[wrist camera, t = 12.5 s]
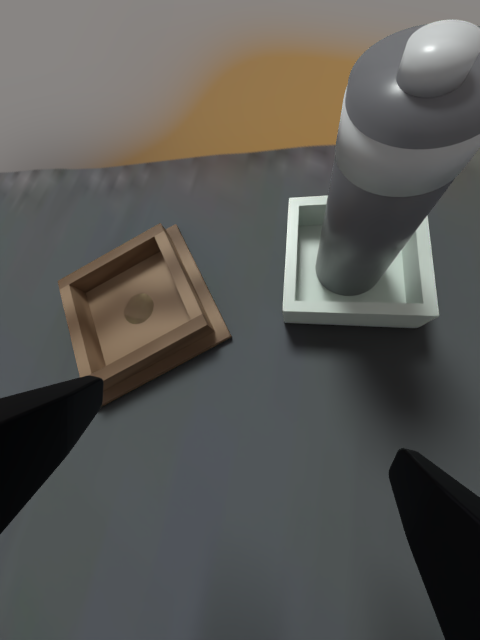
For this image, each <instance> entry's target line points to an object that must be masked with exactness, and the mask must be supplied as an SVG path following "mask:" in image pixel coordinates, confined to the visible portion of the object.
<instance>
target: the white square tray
mask: <svg viewBox="0 0 480 640" xmlns="http://www.w3.org/2000/svg"><path fill="white" fill-rule="evenodd" d="M327 198H328V196H314V197H298V198H289V209H288V226H287V244H286V261H285V278H284V295H283V318H284V323H300V324H324V325H348V326H372V327H396V328H419V327H421V326H422V325H424V324H426V323H428V322H429V321H431V320H433V319H435V318H436V317H438V316H439V311H438V302H437V294H436V285H435V276H434V268H433V259H432V251H431V242H430V234H429V225H428V217H427V216H426V218H425V219H424V220H423V222H422V223H421V224H420V226H419V227H418V228H417V230H416V231H415V232H414V234H413V235H412V236H411V238H410V239H409V241H408V242H407V243H406V245H405V246H404V247H403V249H402V250H401V251H400V253H399V254H398V255H397V257H396V258H395V259H394V261H393V262H392V263H391V265H390V266H389V267H388V269H387V270H386V271H385V273H384V274H383V275H382V277H381V278H380V279H379V281H378V282H377V283H376V285H375V286H374V287H373V288H371V289H370V290H369V291H367V292H365V293H362V294H359V295H354V296H343V295H339V294H336V293H333V292H331V291H329V290H328V289H326V288H325V287H324V286H323V285H322V284H321V282H320V281H319V279H318V277H317V274H316V270H315V266H316V259H317V254H318V248H319V243H320V237H321V231H322V226H323V220H324V215H325V209H326V203H327Z"/></svg>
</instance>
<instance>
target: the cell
mask: <svg viewBox="0 0 480 640" xmlns="http://www.w3.org/2000/svg"><path fill="white" fill-rule="evenodd" d="M479 148H480V26H476V25H474V24H472V23H470V22H467V21H462V20H442V21H437V22H433V23H430V24H426V25H420V26H415V27H411V28H408V29H405V30H402V31H399V32H396V33H394V34H392V35H390V36H387V37H386V38H384V39H382V40H380V41H379V42H377V43H376V44H374V45H373V46H371V47H370V48H369V49H368V50H367V51H366V52H364V53H363V54H362V56H361V57H360V58H359V59H358V60H357V62H356V63H355V65H354V66H353V68H352V70H351V73H350V76H349V80H348V86H347V88H346V91H345V95H344V100H343V106H342V112H341V118H340V123H339V129H338V135H337V141H336V147H335V159H334V164H333V170H332V175H331V181H330V187H329V192H328V198H327V203H326V209H325V215H324V220H323V226H322V231H321V237H320V243H319V248H318V254H317V259H316V266H315V270H316V274H317V277H318V279H319V281H320V282H321V284H322V285H323V286H324V287H325V288H326V289H328V290H329V291H331V292H333V293H336V294H339V295H343V296H354V295H359V294H362V293H365V292H367V291H369V290H370V289H371V288H373V287H374V286H375V285H376V283H377V282H378V281H379V279H380V278H381V277H382V275H383V274H384V273H385V271H386V270H387V269H388V267H389V266H390V265H391V263H392V262H393V261H394V259H395V258H396V257H397V255H398V254H399V253H400V251H401V250H402V249H403V247H404V246H405V245H406V243H407V242H408V241H409V239H410V238H411V236H412V235H413V234H414V232H415V231H416V230H417V228H418V227H419V226H420V224H421V223H422V222H423V220H424V219H425V218H426V216H427V215H428V214H429V212H430V211H431V210H432V208H433V207H434V206H435V204H436V203H437V202H438V200H439V199H440V198H441V196H442V195H443V194H444V192H445V191H446V190H447V188H448V187H449V186H450V184H451V183H452V182H453V180H454V179H455V178H456V177H457V176H458V175H459V174H460V173H461V171H462V170H463V169H464V168H465V166H466V165H467V164H468V162H469V161H470V160H471V158H472V157H473V156H474V154H475V153H476V152H477V151H478V149H479Z"/></svg>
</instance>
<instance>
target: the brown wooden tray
mask: <svg viewBox="0 0 480 640" xmlns="http://www.w3.org/2000/svg"><path fill="white" fill-rule="evenodd" d="M58 285H59V289H60V294H61V298H62V302H63V306H64V311H65V315H66V319H67V323H68V328H69V332H70V336H71V341H72V345H73V349H74V353H75V358H76V362H77V366H78V370H79V375H80V377H84V376H88V375H91V376H95V377H99V378H102V379H103V383H104V385H103V402H102V406H104V405H106V404H108V403H110V402H112V401H114V400H115V399H117V398H119V397H121V396H123V395H125V394H127V393H129V392H130V391H132V390H134V389H136V388H138V387H140V386H142V385H143V384H145V383H147V382H149V381H151V380H153V379H155V378H157V377H158V376H160V375H162V374H164V373H166V372H168V371H170V370H171V369H173V368H175V367H177V366H179V365H181V364H183V363H185V362H186V361H188V360H190V359H192V358H194V357H196V356H198V355H199V354H201V353H203V352H205V351H207V350H209V349H211V348H213V347H214V346H216V345H218V344H220V343H222V342H224V341H226V340H227V339H229V338H231V337H232V336H231V334H230V332H229V330H228V328H227V326H226V324H225V322H224V320H223V318H222V316H221V314H220V312H219V310H218V308H217V306H216V304H215V302H214V300H213V298H212V296H211V293H210V291H209V289H208V287H207V285H206V283H205V281H204V279H203V277H202V275H201V273H200V271H199V269H198V267H197V265H196V263H195V261H194V259H193V257H192V255H191V253H190V251H189V249H188V247H187V245H186V243H185V241H184V238H183V236H182V234H181V232H180V230H179V228H178V226H177V225H176V224H175V225H173V226H171V227H170V228H168V229H166V230H165V228H164V227H163V226H162V224H161V223H160V224H158V225H156V226H154V227H152V228H151V229H149V230H147V231H145V232H144V233H142V234H140V235H138V236H137V237H135V238H133V239H131V240H129V241H128V242H126V243H124V244H122V245H121V246H119V247H117V248H115V249H114V250H112V251H110V252H108V253H106V254H105V255H103V256H101V257H99V258H98V259H96V260H94V261H92V262H91V263H89V264H87V265H85V266H84V267H82V268H80V269H78V270H76V271H75V272H73V273H71V274H69V275H68V276H66V277H64V278H62V279H61V280H59V281H58ZM102 406H101V407H102Z"/></svg>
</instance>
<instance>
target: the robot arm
mask: <svg viewBox="0 0 480 640" xmlns="http://www.w3.org/2000/svg"><path fill="white" fill-rule="evenodd" d="M103 385H104V383H103V379H102V378H99V377H95V376H91V375H88V376H84V377H80V378H76V379H72V380H69V381H65V382H61V383H57V384H53V385H49V386H46V387H42V388H38V389H34V390H30V391H27V392H23V393H19V394H15V395H11V396H8V397H4V398H0V534H1V533H2V532H3V530H4V529H5V528H6V527H7V526H8V525H9V523H10V522H11V521H12V520H13V519H14V518H15V516H16V515H17V514H18V513H19V512H20V510H21V509H22V508H23V507H24V506H25V505H26V503H27V502H28V501H29V500H30V499H31V498H32V496H33V495H34V494H35V493H36V492H37V490H38V489H39V488H40V487H41V486H42V485H43V483H44V482H45V481H46V480H47V479H48V478H49V476H50V475H51V474H52V473H53V472H54V470H55V469H56V468H57V467H58V466H59V465H60V463H61V462H62V461H63V460H64V459H65V457H66V456H67V455H68V454H69V452H70V451H71V449H72V448H73V447H74V445H75V444H76V443H77V441H78V440H79V438H80V437H81V435H82V434H83V433H84V431H85V430H86V428H87V427H88V425H89V424H90V423H91V421H92V420H93V418H94V417H95V415H96V414H97V413H98V411H99V410H100V408H101V406H102V402H103ZM389 479H390V483H391V486H392V490H393V493H394V497H395V500H396V504H397V507H398V510H399V514H400V517H401V521H402V524H403V528H404V531H405V534H406V537H407V540H408V543H409V546H410V549H411V551H412V554H413V556H414V559H415V562H416V564H417V567H418V570H419V572H420V575H421V577H422V580H423V583H424V585H425V588H426V590H427V593H428V596H429V598H430V601H431V603H432V606H433V609H434V611H435V614H436V617H437V619H438V622H439V624H440V627H441V630H442V632H443V635H444V637H445V640H480V497H478V496H477V495H476V494H474V493H473V492H472V491H470V490H469V489H467V488H466V487H465V486H463V485H462V484H461V483H459V482H458V481H457V480H455V479H454V478H452V477H451V476H450V475H448V474H447V473H446V472H444V471H443V470H442V469H440V468H439V467H437V466H436V465H435V464H433V463H432V462H431V461H429V460H428V459H427V458H425V457H424V456H422V455H421V454H420V453H418V452H416V451H414V450H409V449H405V448H401V449H399V450H398V452H397V454H396V456H395V458H394V460H393V463H392V465H391V467H390V469H389Z"/></svg>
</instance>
